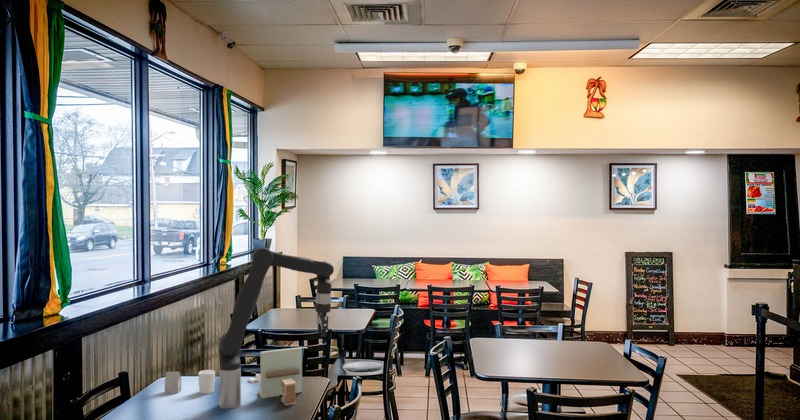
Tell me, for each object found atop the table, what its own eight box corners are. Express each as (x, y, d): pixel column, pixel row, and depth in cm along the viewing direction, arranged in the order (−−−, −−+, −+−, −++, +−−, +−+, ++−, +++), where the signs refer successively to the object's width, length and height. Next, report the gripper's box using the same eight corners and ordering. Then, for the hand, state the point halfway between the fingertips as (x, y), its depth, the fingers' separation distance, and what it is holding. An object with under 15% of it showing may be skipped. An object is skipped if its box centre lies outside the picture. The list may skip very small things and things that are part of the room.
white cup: (217, 389, 283) (217, 369, 283) (210, 394, 275) (210, 374, 275) (202, 389, 284) (202, 369, 284) (195, 394, 276) (195, 373, 276)
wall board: (303, 393, 275) (303, 349, 276) (262, 400, 266) (262, 353, 267) (297, 388, 285) (297, 344, 285) (257, 393, 276) (257, 349, 276)
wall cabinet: (296, 404, 260) (296, 383, 260) (286, 406, 257) (285, 384, 258) (291, 399, 268) (291, 378, 268) (281, 400, 265) (280, 379, 265)
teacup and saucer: (246, 382, 296) (246, 375, 296) (257, 378, 303) (257, 371, 303) (259, 385, 292) (259, 377, 292) (269, 381, 299) (269, 373, 299)
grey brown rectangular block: (178, 393, 278) (177, 373, 278) (164, 393, 278) (164, 372, 278) (181, 390, 282) (181, 370, 282) (168, 390, 282) (168, 370, 282)
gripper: (312, 299, 283) (311, 331, 283) (319, 304, 270) (317, 338, 269) (327, 299, 285) (325, 331, 285) (334, 304, 272) (332, 337, 272)
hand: (321, 334), depth 277 cm, fingers open, 8 cm apart
